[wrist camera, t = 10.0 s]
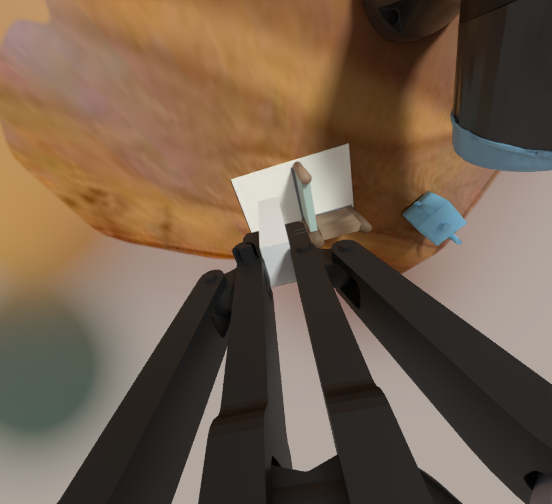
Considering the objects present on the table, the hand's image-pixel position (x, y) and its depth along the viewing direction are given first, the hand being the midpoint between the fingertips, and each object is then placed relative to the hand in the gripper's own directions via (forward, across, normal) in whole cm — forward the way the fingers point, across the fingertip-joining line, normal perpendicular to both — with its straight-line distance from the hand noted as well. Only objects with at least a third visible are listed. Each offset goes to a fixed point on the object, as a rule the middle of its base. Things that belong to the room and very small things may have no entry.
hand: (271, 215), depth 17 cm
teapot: (+25, -30, +18) cm, 43 cm away
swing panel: (+24, -6, +7) cm, 25 cm away
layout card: (+24, -4, +9) cm, 27 cm away
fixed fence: (+24, -10, +13) cm, 29 cm away
